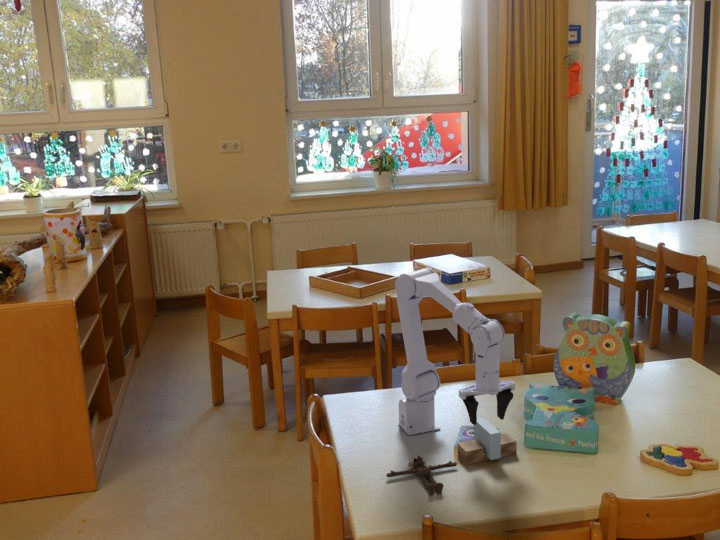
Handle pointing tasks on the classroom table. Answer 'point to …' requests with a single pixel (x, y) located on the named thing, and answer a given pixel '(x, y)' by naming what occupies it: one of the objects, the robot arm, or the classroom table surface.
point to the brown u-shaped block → (475, 451)
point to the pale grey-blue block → (488, 438)
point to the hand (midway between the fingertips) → (486, 420)
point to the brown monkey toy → (424, 473)
